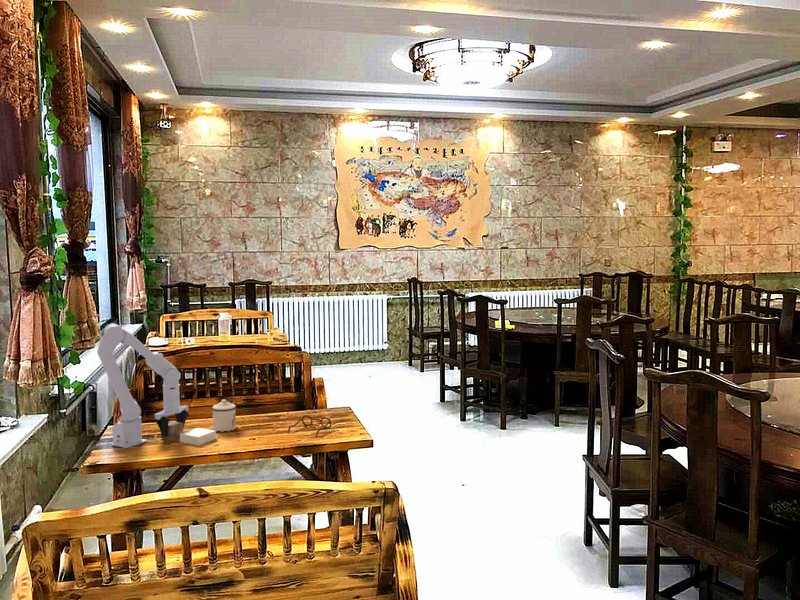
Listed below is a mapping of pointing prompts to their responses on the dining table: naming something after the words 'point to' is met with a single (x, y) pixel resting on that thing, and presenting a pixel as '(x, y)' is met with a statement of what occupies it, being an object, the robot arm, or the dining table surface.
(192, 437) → the cream block
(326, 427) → the glasses
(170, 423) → the walnut cube
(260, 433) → the dining table surface
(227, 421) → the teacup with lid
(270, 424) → the dining table surface
